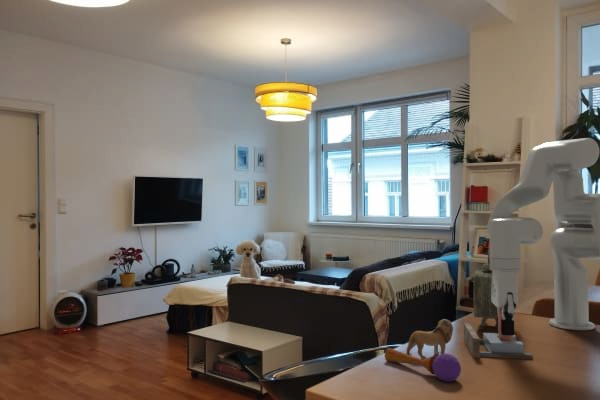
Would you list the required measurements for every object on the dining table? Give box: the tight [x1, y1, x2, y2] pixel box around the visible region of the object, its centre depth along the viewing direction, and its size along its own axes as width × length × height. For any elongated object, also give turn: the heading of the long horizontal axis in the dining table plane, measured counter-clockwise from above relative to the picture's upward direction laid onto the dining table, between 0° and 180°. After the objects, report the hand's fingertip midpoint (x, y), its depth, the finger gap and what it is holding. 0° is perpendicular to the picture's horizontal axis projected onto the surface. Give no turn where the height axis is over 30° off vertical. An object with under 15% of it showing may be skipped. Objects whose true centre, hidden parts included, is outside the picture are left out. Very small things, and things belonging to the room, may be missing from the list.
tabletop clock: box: [472, 248, 498, 331], centre depth 150 cm, size 14×9×25 cm, turn 153°
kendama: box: [384, 348, 462, 383], centre depth 111 cm, size 6×6×20 cm
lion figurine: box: [405, 318, 454, 360], centre depth 122 cm, size 15×5×9 cm, turn 113°
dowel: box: [497, 306, 513, 341], centre depth 126 cm, size 4×4×12 cm
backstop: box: [463, 322, 534, 360], centre depth 127 cm, size 16×14×5 cm
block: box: [482, 332, 525, 354], centre depth 126 cm, size 10×8×3 cm
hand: (505, 332), depth 126 cm, fingers closed on dowel, 3 cm apart
